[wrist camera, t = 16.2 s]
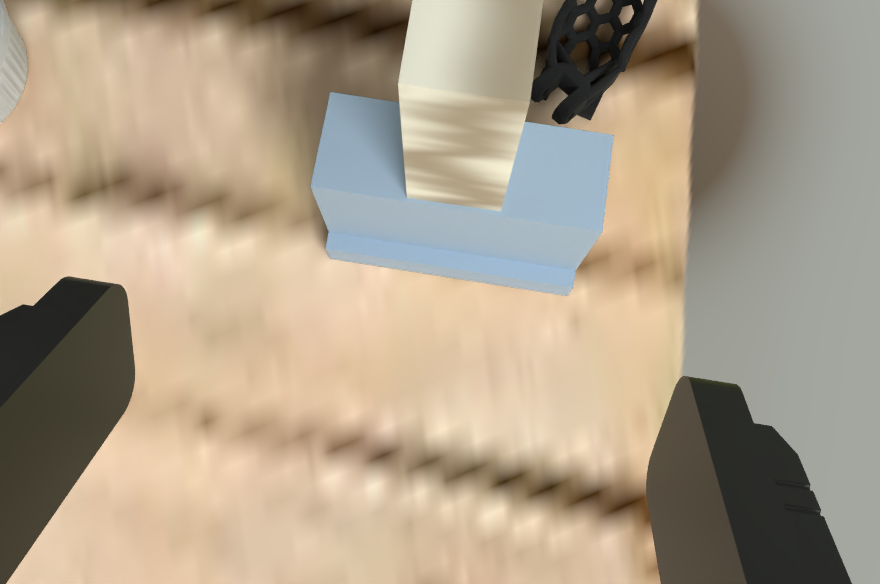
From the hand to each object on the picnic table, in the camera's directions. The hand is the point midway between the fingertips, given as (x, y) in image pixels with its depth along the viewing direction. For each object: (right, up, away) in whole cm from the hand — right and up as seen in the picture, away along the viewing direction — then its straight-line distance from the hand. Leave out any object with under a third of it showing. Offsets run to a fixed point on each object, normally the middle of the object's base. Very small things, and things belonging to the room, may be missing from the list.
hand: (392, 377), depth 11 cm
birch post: (+2, +8, +26) cm, 27 cm away
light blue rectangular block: (+2, +5, +35) cm, 35 cm away
